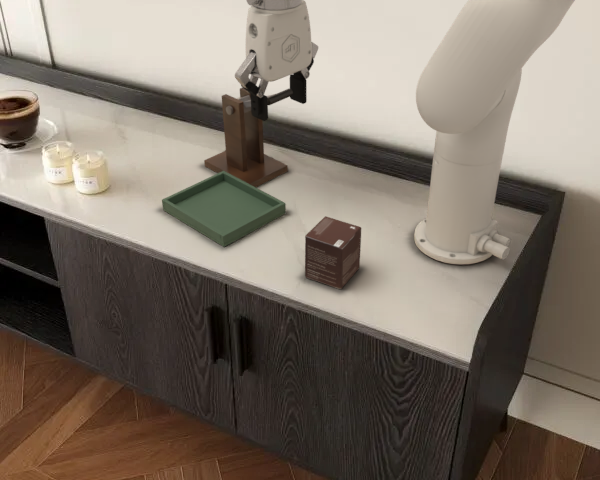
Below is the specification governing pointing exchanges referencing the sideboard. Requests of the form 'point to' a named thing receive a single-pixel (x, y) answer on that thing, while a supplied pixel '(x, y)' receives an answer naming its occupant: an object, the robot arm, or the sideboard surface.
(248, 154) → the brown lever stand
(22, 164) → the sideboard surface
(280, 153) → the sideboard surface
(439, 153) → the robot arm
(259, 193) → the square tray
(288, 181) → the sideboard surface
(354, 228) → the box
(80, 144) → the sideboard surface
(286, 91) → the lever handle
